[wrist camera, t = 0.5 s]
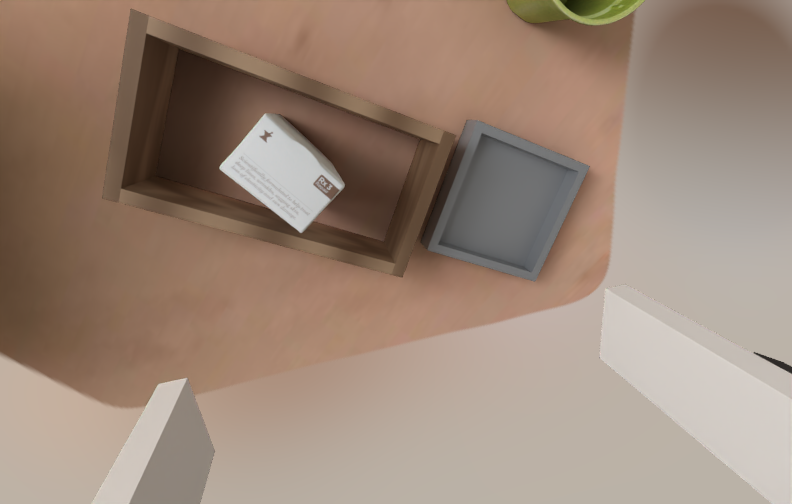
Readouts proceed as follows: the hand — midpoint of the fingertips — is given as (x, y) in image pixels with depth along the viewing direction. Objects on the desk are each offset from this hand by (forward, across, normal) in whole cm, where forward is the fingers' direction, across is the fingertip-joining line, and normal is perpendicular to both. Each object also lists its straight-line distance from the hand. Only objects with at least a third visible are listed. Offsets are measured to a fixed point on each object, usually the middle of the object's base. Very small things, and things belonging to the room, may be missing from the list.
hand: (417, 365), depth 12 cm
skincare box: (+26, -4, +4) cm, 26 cm away
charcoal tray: (+25, +14, -2) cm, 29 cm away
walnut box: (+25, -4, +4) cm, 26 cm away
